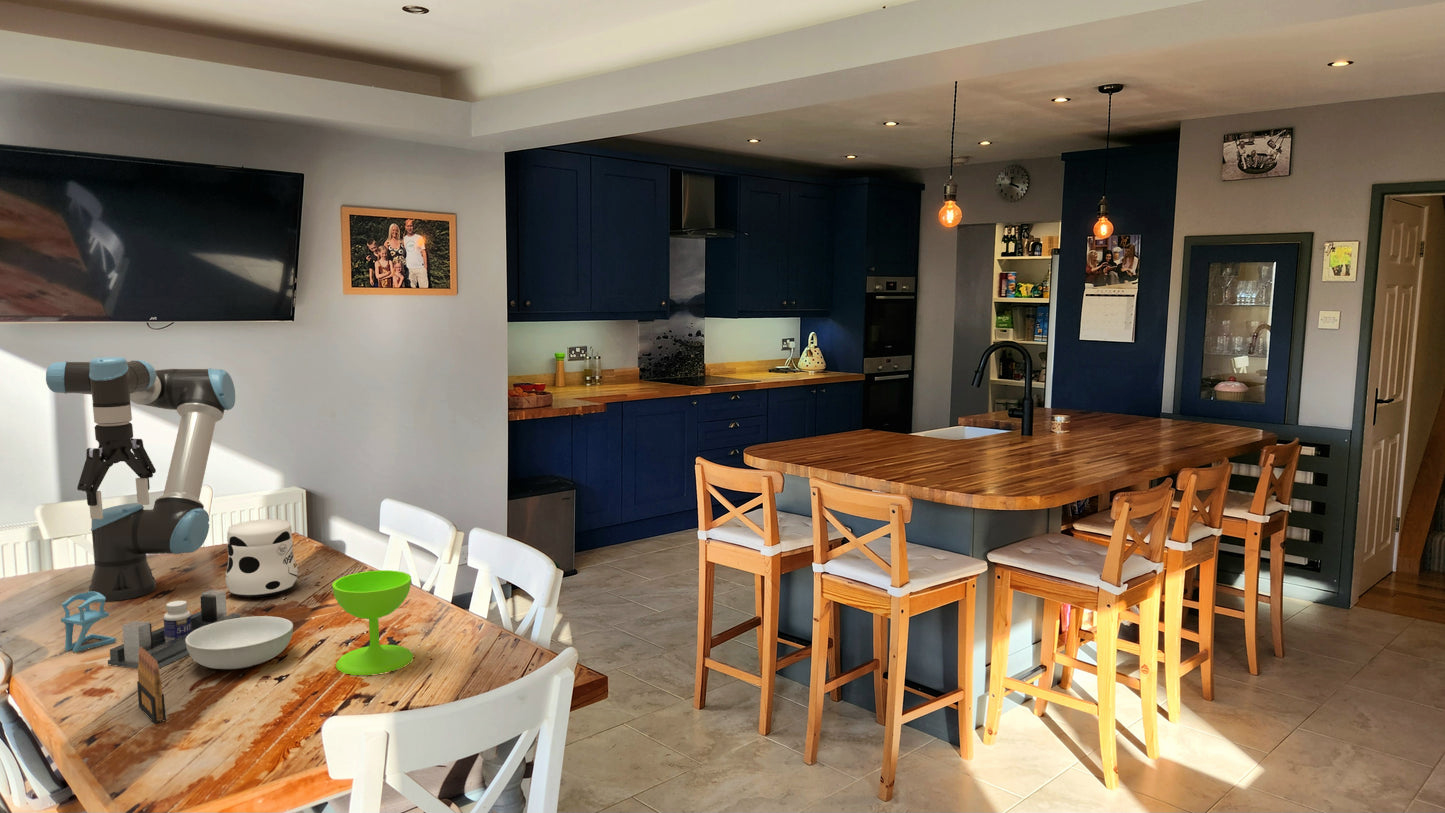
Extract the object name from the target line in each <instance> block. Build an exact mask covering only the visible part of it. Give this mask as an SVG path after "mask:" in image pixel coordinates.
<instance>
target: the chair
mask: <svg viewBox="0 0 1445 813" xmlns="http://www.w3.org/2000/svg"><path fill="white" fill-rule="evenodd" d="M105 599H106V598H105V597H104V596H103V595H102V594H100V593H98V592H94V591H90V592H89V591H86V592H81V593H78V594H74V595H73V596H70V597H69V598H67V600H66V601H64V602H62V603H61V604H60V605H61V607H62V608H63V610H64V617H62V618H60V622H61V623H64V628H65V640H64V641H65V642H64V644H65V645H64V646H65V647H64V652H69V650H70V651H72V653H73V652H76V653H78V652H77V651H80V652H83V651H86V650H85V649H87V650H89V649H88V648H91V649H93V648H92V647H95V648H97V646H99V647H101V645H103V646H106V645H105V644H107V645H110V644H113V642H114V643H116V642H117V638H116V637H113V636H107V635H100V634H95V633H91V634H88V631H89V630H90V629H91V627H92V626H93V625H94V624H95V623H97V622H99V621H101V620H102V619H105V618H107V617H110V612H108V611H105V608H104V607H105V604H106V601H105ZM77 600H80V601H84V602H83V603H82V604H80V605H79V606H77V609H78V611H79V612H78V613H74V614H71V615H70V612H71V611H70V609H69V608H68V606H70V604H71V603H72V602H74V601H77ZM95 603H100V605H99V608H98V609H99V610H94V609H91V607H90V605H92V604H95ZM75 625H76V626H81V627H82V628H81V631H80V634H79V636H78V638H77V640H76V641H75V642H73V635H74V634H73V633H74V626H75ZM91 638H92V639H94V638H97V639H96V640H99V639H101V640H100V641H96V642H92V643H86V642H88V641H90V640H92V639H91ZM89 639H90V640H89ZM87 640H88V641H87ZM84 642H85V643H86V644H85V643H84ZM82 643H83V644H82ZM71 649H72V650H71ZM82 650H83V651H82Z"/></svg>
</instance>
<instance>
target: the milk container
mask: <svg viewBox="0 0 1445 813" xmlns="http://www.w3.org/2000/svg"><path fill="white" fill-rule="evenodd" d="M292 532H293V528H292V524H291V521H288V520H287V519H286V520H285V519H281V518H280V519H279V518H277V519H275V518H267V519H254V520H247V521H243V522H239V523H235V524H232V525H230V526H229V527H228V528H227V532H226V533H227V534H226V541H227V545H226V546H227V556H228V557H227V560H228V561H227V566H226V571H225V575H224V576H225V577H224V578H225V584H226V588H227V591H228V592H229V593H230V594H232V595H234V596H237V597H242V598H262V597H268V596H269V597H271V596H274V595H277V594H281V593H284V592H287V591H289V590H290V589H292V588H293V587H294V586H295V585H296V583H297V581H298V576H299V575H298V574H299V573H298V572H299V571H298V565H297V562H296V559H295V556H294V548H293V546H294V545H293V543H294V542H293V539H294V538H293V536H292V535H293V533H292Z"/></svg>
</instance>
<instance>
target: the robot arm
mask: <svg viewBox="0 0 1445 813" xmlns="http://www.w3.org/2000/svg"><path fill="white" fill-rule="evenodd" d="M45 384H46V385H47V387H48V389H49V390H50V391H51V392H53V393H56V394H58V393H59V394H81V395H91V397H92V398H91V399H92V411H93V412H92V413H93V422H94V423H95V424H96V425H94V437H95V441H97V443H98V447H97V448H95V447H88V448H87V449H86V454H85V455H86V456H85V457H86V458H85V462H84V465H83V468H82V471H81V475H80V477H79V481H78V484H77V487H76V489H77V491H81V492H85V493H86V503H87V506H88V507H89V515H90V520H91V529H90V531H91V535H92V550H93V563H94V569H93V572H92V577H91V582H90V585H89V586H88V591H87V592H90V591H94V592H98V593H100V594H102V595H103V596H104V597H105V598H106V599H105V602H115V601H114V600H117V601H124V599H125V600H130V599H135V598H139V597H142V596H146V595H148V594H151V593H152V592H154V591H155V590H157V581H156V578H155V577H154V575H153V572H152V569H151V567H150V565H149V564H148V560H147V555H160V554H163V555H164V554H166V555H169V554H171V555H172V554H174V555H181V554H188V553H195V552H196V551H198V549H200V548H201V547H202V546H203V545H204V543H205V541H206V540H207V536H208V533H209V529H210V516H209V513H208V511H207V510H205V508H204V507H205V505H204V504H203V502H201V500H200V499H201V498H200V496H201V493H202V487H203V483H204V478H205V474H206V469H207V464H208V459H209V454H210V451H211V445H212V440H213V436H214V431H215V426H216V423H217V422H219V421H221V420H222V419H223V418H224V413H225V411H229V410H232V409H233V408H234V406H235V404H236V389H235V384H234V381H233V378H232V376H231V375H230V373H229V372H228V371H227V370H225V369H222V368H221V369H220V368H212V367H211V368H167V369H165V368H164V369H155V367H154V366H153V365H152V364H151V363H149V362H147V361H145V360H139V359H138V360H130V361H128V360H127V359H126V358H125V357H123V356H105V357H104V356H102V357H95V358H92V359H91V360H90V361H68V360H67V361H66V360H65V361H60V362H59V361H58V362H53V363H51V364H50V365H49V366H48V367H47V369H46V371H45ZM131 402H132V403H133V404H137V405H143V406H148V407H154V408H156V409H157V408H158V409H163V410H164V409H165V410H170V411H171V410H173V411H174V410H176V413H177V414H178V415H179V416H180V421H179V425H178V430H177V434H176V438H175V443H174V447H173V452H172V455H171V460H170V463H169V464H170V465H169V468H168V472H167V478H166V482H165V484H164V485H165V486H164V491H163V495H161V496H160V497H158V498H156V499H155V501H154V504H153V508H152V509H144V508H145V506H148V505H150V493H149V490H150V488H151V487H150V478H153V476H154V474H155V473H156V472H157V470H156V468H155V466H154V464H153V462H152V460H151V458H150V456H149V454H148V452H147V451H146V449H145V447H144V441H143V439H142V438H134V428H133V423H131V421H132V420H133V416H132V415H133V414H132V406H131V404H132V403H131ZM120 462H123V463H125V464H126V465H127V466H128V467H129V468H130V469H131V470H132V471H133V472H134V473H135V474H136V475H137V476H138V477H136V478H135V487H136V498H137V500H136V501H137V502H134V503H133V502H131V503H124V504H120V505H119V504H118V505H115V506H111V507H106V508H103V500H102V491H101V490H99V488H100V486H101V484H102V482H103V480H104V479H105V477H106V474H107V473H108V471H109V469H110V468H111V467H113V465H114V464H119V463H120ZM145 594H146V595H145Z"/></svg>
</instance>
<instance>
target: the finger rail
mask: <svg viewBox="0 0 1445 813" xmlns="http://www.w3.org/2000/svg"><path fill="white" fill-rule="evenodd" d="M199 600H200V611H198V612H195V613H194V614H191V632H193V631H194V630H196V629H198V628H201V627H203V626H206V625H209V624H212V623H216V622H220V621H224V620H229V619H235V618H241V614H240V613H233V612H232V613H231V614H228V612H227V597H226V591H225V590H217V589H210V590H209V589H208V590H207V591H205V592H204V591H203V592H202V593H201V596H200V599H199ZM227 614H228V615H227ZM121 628H122V639H123V641H122V642H123V643H122V644H120V645H117V646H115V647H112V648H110V649H109V658H110V659H108V660H107V665H108V664H111V665H110V666H112V665H117V666H116V667H121V666H124V668H129V667H133V668H132V669H137V668H138V654H139V649H140V647H142V648H143V649H145V651H147V652H148V654H150V655H151V657H153V658H154V659H156V661H157V663H158V666H159V669H161V668H163V667H165V666H167V665H169V664H172V663H174V662H175V660H176V661H178V660H180V659H182V658H184V657H186V656H188V654H189V653H188V650H187V647H186V643H185V639H186V637H187V636H188V635H189V634H190V633H191V632H190V633H187V634H185V635H183V636H181V637H178V638H176V639H174V640H172V641H169V642H167V643H165V633H164V626H162V627H159V628H158V629H155V630H153V631H152V629H153V628H152V623H150V621H141V620H140V621H139V620H133V621H129V622H127V623H125V624H122V627H121ZM179 658H180V659H179ZM177 659H178V660H177ZM173 661H174V662H173ZM171 662H172V663H171ZM162 666H163V667H162ZM160 667H161V668H160Z"/></svg>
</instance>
